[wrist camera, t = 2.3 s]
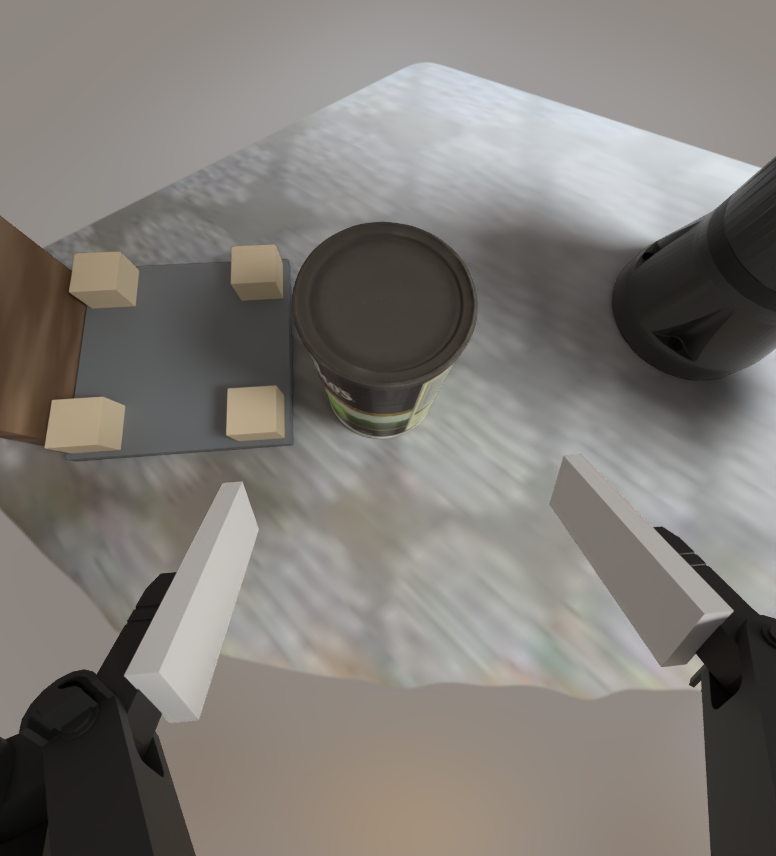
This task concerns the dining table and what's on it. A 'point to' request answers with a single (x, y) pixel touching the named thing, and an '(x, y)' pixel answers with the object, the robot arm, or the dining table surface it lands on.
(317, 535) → the dining table surface
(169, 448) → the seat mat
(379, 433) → the coffee can
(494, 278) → the dining table surface
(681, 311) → the robot arm
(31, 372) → the walnut shelf
